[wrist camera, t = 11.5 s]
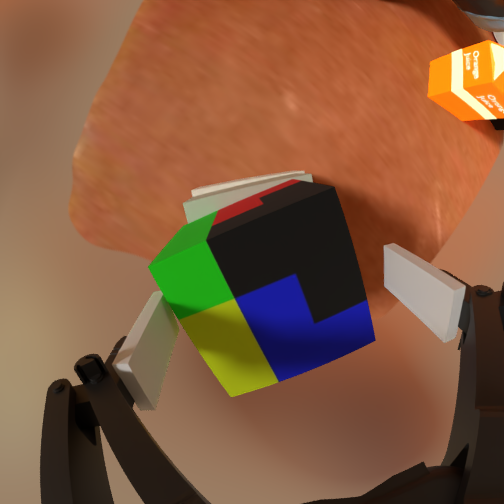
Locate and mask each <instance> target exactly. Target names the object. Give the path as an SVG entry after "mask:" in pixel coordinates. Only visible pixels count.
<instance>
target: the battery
mask: <svg viewBox="0 0 504 504" xmlns="http://www.w3.org/2000/svg"><path fill="white" fill-rule="evenodd" d="M490 121H491V122H492V124H493V126H494V128H495V129H496V130H504V118H497V119H490Z"/></svg>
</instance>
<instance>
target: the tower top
mask: <svg viewBox="0 0 504 504" xmlns="http://www.w3.org/2000/svg"><path fill="white" fill-rule="evenodd" d="M291 179H296V180H302V181H307V182H313V180H312V175H311V174H305V173H294V174H288V175H283V176H279V177H274V178H269V179H264V180H260V181H255V182H251V183H246V184H242V185H238V186H233V187H229V188H225V189H221V190H217V191H213V192H209V193H205V194H201V195H198V196H194V197H192V198H190V199H189V200H187V201H186V202H184V203H183V206H184V210H185V213H186V217H187V221H188V224H189V223H191V222H193V221H195V220H197V219H200V218H202V217H204V216H206V215H208V214H211V213H213V212H215V211H217V210H220V209H222V208H224V207H226V206H229V205H231V204H233V203H236V202H238V201H240V200H242V199H245V198H247V197H250V196H252V195H254V194H257V193H259V192H261V191H264V190H266V189H269V188H271V187H274V186H276V185H279V184H281V183H283V182H286V181H289V180H291Z"/></svg>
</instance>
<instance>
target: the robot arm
mask: <svg viewBox="0 0 504 504" xmlns="http://www.w3.org/2000/svg"><path fill="white" fill-rule="evenodd" d="M452 1H453V2H454V3H455V4H456V5H457V7H458V8H459V9H460V10H461V11H462V12H464V13H465V14H466V15H467V16H468V17H469V18H470V19H471V21H472V22H473V23H474V24H475V25H476V26H478V27H479V28H482V29H484V30H486V31H490V32H504V0H452ZM384 287H386V288H387V289H388V290H389V291H390V292H391V293H392V294H393V295H394V296H395V297H397V298H398V299H399V300H400V301H401V302H402V303H403V304H404V305H405V306H406V307H407V308H408V309H410V310H411V311H412V312H413V313H414V314H415V315H416V316H417V317H418V318H419V319H420V320H421V321H422V322H423V323H424V324H425V325H426V326H427V327H428V328H429V329H431V330H432V331H433V332H434V333H435V334H436V335H437V336H438V337H439V338H440V339H441V340H442V341H443V342H444V343H446V342H448V341H450V340H452V339H454V338H455V337H456V333H457V329H458V327H459V328H460V329H461V330H462V335H461V339H460V343H459V347H458V350H460V347H461V355H460V373H459V383H458V393H457V400H456V408H455V414H454V420H453V425H452V431H451V435H450V440H449V444H448V448H447V452H446V455H445V458H444V459H443V462H442V464H441V466H433V467H426V466H425V464H424V462H421V463H420V464H417V465H415V466H413V467H411V468H409V469H407V470H405V471H403V472H401V473H398V474H396V475H394V476H392V477H391V478H389V479H388V480H386V481H385V482H383V483H382V484H380V485H378V486H377V487H375V488H374V489H372V490H371V491H369V492H367V493H366V494H364V495H362V496H359V497H351V498H341V499H324V500H317V501H312V502H307V503H303V504H504V282H503V286H502V291H497V292H494V291H493V290H492V289H491V288H490V287H487V286H483V285H477V286H474V287H471V286H470V285H468V284H467V283H465V282H463V281H462V280H460V279H458V278H457V277H455V276H453V275H452V274H451V273H449V272H447V271H445V270H441V269H438V268H436V267H435V266H433V265H431V264H430V263H428V262H426V261H425V260H423V259H421V258H420V257H418V256H416V255H414V254H413V253H411V252H409V251H407V250H406V249H404V248H402V247H400V246H398V245H397V244H395V243H392V244H387V245H384ZM178 332H179V327H178V325H177V322H176V319H175V316H174V314H173V311H172V308H171V307H170V305H169V303H168V302H167V300H166V298H165V297H164V295H163V293H162V291H157V292H153V294H152V295H151V297H150V299H149V300H148V302H147V304H146V305H145V307H144V309H143V310H142V312H141V314H140V315H139V317H138V319H137V320H136V322H135V324H134V326H133V327H132V329H131V331H130V333H129V334H128V336H124V337H123V338H121V339H120V340H119V341H118V342H117V343H116V345H115V347H114V350H112V352H111V353H110V354H111V355H110V356H109V357H108V359H107V360H106V362H105V364H104V363H103V361H102V359H101V357H100V356H99V355H98V354H89V355H87V356H84V357H82V358H81V359H79V360H78V361H77V362H76V364H75V366H74V370H75V372H76V373H77V375H78V377H79V378H80V380H81V381H82V383H83V384H82V385H77V386H72V385H71V383H70V382H69V381H68V380H67V379H59V380H57V381H54V382H53V383H52V384H51V385H50V387H49V388H48V391H47V396H46V403H45V410H44V418H43V427H42V439H41V456H40V487H41V503H42V504H114V501H113V498H112V494H111V490H110V485H109V481H108V477H107V471H106V467H105V461H104V456H103V449H102V443H101V435H100V427H99V426H101V428H102V430H103V433H104V435H105V437H106V439H107V441H108V443H109V445H110V447H111V449H112V451H113V452H114V454H115V456H116V458H117V460H118V462H119V464H120V465H121V467H122V469H123V471H124V472H125V474H126V476H127V477H128V479H129V481H130V482H131V484H132V485H133V487H134V488H135V490H136V492H137V493H138V495H139V496H140V497H141V499H142V501H143V502H144V503H145V504H211V503H210V502H209V501H208V500H207V499H206V498H205V497H204V496H203V495H202V494H201V493H200V492H199V491H198V490H197V489H196V488H195V487H194V486H193V485H192V484H191V483H190V482H189V481H188V480H187V479H186V477H185V476H184V475H183V474H182V473H181V472H180V471H179V470H178V468H177V467H176V466H175V465H174V464H173V462H172V461H171V460H170V459H169V458H168V456H167V455H166V454H165V453H164V452H163V450H162V449H161V448H160V446H159V445H158V444H157V442H156V441H155V440H154V439H153V437H152V436H151V434H150V433H149V432H148V430H147V429H146V428H145V426H144V425H143V423H142V422H141V420H140V419H139V418H138V416H137V415H136V413H135V412H134V410H133V409H132V408H133V404H134V402H135V403H136V404H137V406H138V408H139V409H140V410H156V407H157V403H158V399H159V396H160V392H161V389H162V385H163V381H164V378H165V375H166V371H167V368H168V365H169V361H170V358H171V355H172V351H173V348H174V345H175V341H176V338H177V335H178Z"/></svg>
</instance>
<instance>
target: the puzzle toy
mask: <svg viewBox="0 0 504 504" xmlns="http://www.w3.org/2000/svg"><path fill="white" fill-rule="evenodd" d="M148 268H149V270H150V272H151V273H152V275H153V277H154V279H155V281H156V282H157V284H158V286H159V288H160V290H161V291H162V293H163V295H164V297H165V298H166V300H167V302H168V303H169V305H170V307H171V308H172V310H173V312H174V313H175V315H176V317H177V318H178V320H179V321H180V323H181V325H182V326H183V328H184V330H185V331H186V333H187V334H188V336H189V337H190V339H191V340H192V342H193V344H194V345H195V346H196V348H197V350H198V351H199V353H200V354H201V356H202V357H203V359H204V360H205V361H206V363H207V364H208V366H209V367H210V369H211V370H212V372H213V373H214V374H215V376H216V377H217V379H218V380H219V381H220V383H221V384H222V386H223V387H224V388H225V390H226V391H227V392H228V394H229V395H230V396H231V397H234V396H237V395H240V394H244V393H247V392H250V391H253V390H256V389H260V388H263V387H266V386H269V385H272V384H275V383H277V382H280V381H283V380H286V379H288V378H291V377H294V376H297V375H299V374H302V373H304V372H307V371H309V370H312V369H314V368H317V367H319V366H322V365H324V364H326V363H329V362H331V361H333V360H336V359H338V358H340V357H342V356H344V355H346V354H349V353H351V352H353V351H355V350H357V349H359V348H362V347H364V346H366V345H368V344H370V343H372V342H373V341H375V335H374V330H373V325H372V320H371V315H370V310H369V306H368V301H367V297H366V293H365V288H364V284H363V280H362V276H361V272H360V268H359V265H358V261H357V257H356V254H355V250H354V246H353V243H352V240H351V236H350V233H349V229H348V226H347V223H346V220H345V217H344V213H343V210H342V207H341V204H340V201H339V198H338V195H337V192H336V190H335V187H333V186H328V185H323V184H318V183H313V182H307V181H302V180H296V179H291V180H289V181H286V182H283V183H281V184H279V185H276V186H274V187H271V188H269V189H266V190H264V191H261V192H259V193H257V194H254V195H252V196H250V197H247V198H245V199H242V200H240V201H238V202H236V203H233V204H231V205H229V206H226V207H224V208H222V209H220V210H217V211H215V212H213V213H211V214H208V215H206V216H204V217H202V218H200V219H197V220H195V221H193V222H191V223H189V224H186V225H184V226H183V227H182V228H181V229H180V230H179V231H178V232H177V233H176V234H175V236H174V237H173V238H172V239H171V240H170V241H169V242H168V244H167V245H166V246H165V247H164V248H163V249H162V251H161V252H160V253H159V254H158V255H157V256H156V258H155V259H154V260H153V261H152V262H151V264H150V265H149V266H148Z"/></svg>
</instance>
